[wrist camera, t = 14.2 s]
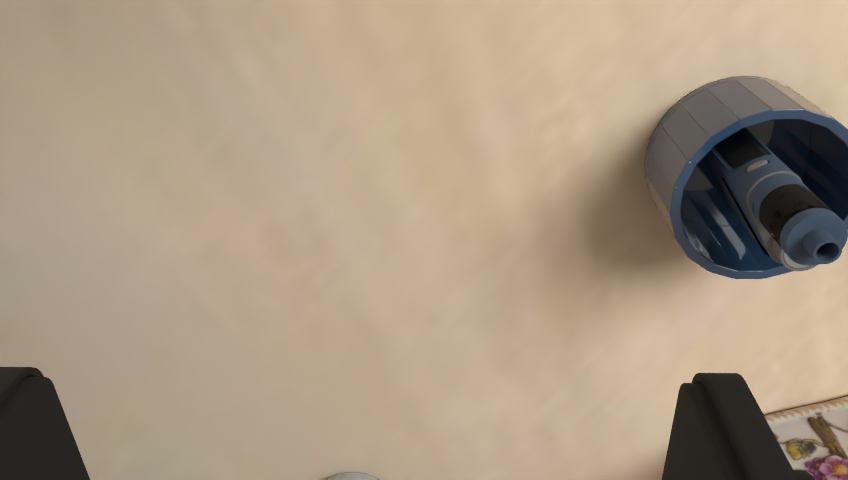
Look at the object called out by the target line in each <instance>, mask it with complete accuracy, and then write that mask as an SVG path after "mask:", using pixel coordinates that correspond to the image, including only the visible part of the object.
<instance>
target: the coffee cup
mask: <svg viewBox="0 0 848 480" xmlns="http://www.w3.org/2000/svg"><path fill="white" fill-rule="evenodd" d="M327 480H378V479H376V478H374V477H372V476H369V475H367V474H362V473H342V474H337V475H335V476H332V477H330V478H329V479H327Z"/></svg>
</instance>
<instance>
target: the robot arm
mask: <svg viewBox="0 0 848 480" xmlns="http://www.w3.org/2000/svg"><path fill="white" fill-rule="evenodd" d="M0 480H90V478H89V476H88V473H87V471H86V468H85V465H84V463H83V460H82V458H81V455H80V452H79V450H78V447H77V445H76V442H75V439H74V437H73V434H72V432H71V429H70V426H69V424H68V421H67V419H66V416H65V413H64V411H63V408H62V406H61V403H60V400H59V398H58V395H57V393H56V390H55V387H54V385H53V383H52V381H51V380H50V379H49V378H47V377H44V376H43V374H42V373H41V371H40V370H38V369H37V368H32V367H0ZM662 480H815V478H814V477H813V476H812V475H811V474H809V473H808V472H807V471H804V470H793V468H792V466H791V465H790V463H789V461H788V459H787V457H786V455H785V454H784V452H783V450H782V448H781V446H780V444H779V443H778V441H777V439H776V437H775V435H774V433H773V431H772V430H771V428H770V426H769V424H768V422H767V420H766V419H765V417H764V415H763V413H762V411H761V409H760V408H759V406H758V404H757V402H756V400H755V398H754V396H753V395H752V393H751V391H750V389H749V387H748V385H747V384H746V382H745V380H744V379H743V377H742V376H741V375H739V374H738V373H698V374H696V375H695V376H694V378H693V381H692V383H683V384H682V385H681V386H680V390H679V394H678V399H677V404H676V410H675V415H674V420H673V425H672V430H671V435H670V440H669V445H668V451H667V456H666V461H665V466H664V471H663V476H662Z"/></svg>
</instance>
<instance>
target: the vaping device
mask: <svg viewBox="0 0 848 480" xmlns="http://www.w3.org/2000/svg"><path fill="white" fill-rule="evenodd" d="M704 157H705V159H706V161H707V163H708V165H709V168H710V170H711V172H712V174H713V177H714V179H715V181H716V183H717V185H718V188H719V190H720V192H721V193H722V195H723V196H724V200H725V203H726V204H727V205H728V207H729V208H730V209H731V210H732V212H733V213H734V214H735V216H736V217H737V218H738V220H739V221H740V222H741V223H742V225H743V226H744V227H745V229H746V230H747V231H748V233H749V234H750V235H751V236H752V238H753V239H754V240H755V242H756V243H757V244H758V246H759V247H760V248H761V249H762V251H763V252H764V253H765V255H767V256H769V257H771V259H773V260H774V261H775V262H777V263H780V264H783V265H784V266H785V267H786V268H788V269H790V270H793V271H804V270H808V269H811V268H813V267H815V266H816V265H818V264H828V263H831V262H833V261H835V260H836V259H838V257H839V256H840V255H841V253H842V249H843V247H844V246H845V244H846V241H847V237H848V230H847V226H846V224H845V223H844V222H843V220H842V219H841V218H840V217H838V216H837V215H836V214H835V213H834V212H833V211H832V210H831V209H830V208H829V207H828V206H827V205H826V204H825V203H824V202H823V201H822V200H820V199H819V198H818V197H817V196H816V195H815V194H814V193H813V192H812V191H811V190H810V189H809V188H808V187H807V186H806V185H804V184H803V182H802V180H801V178H800V177H799V176H798V175H797V174H795V173H794V172H793V171H792V170H791V169H789V168H788V167H787V166H786V165H785V164H784V163H783V162H782V161H781V160H780V159H779V158H778V157H777V156H776V155H775V154H774V153H773V151H770V150H769V149H768V148H767V147H766V146H765V145H764V144H763V143H762V142H761V141H760V140H759V139H757V138H756V137H755V136H754V135H753V134H752V133H751V132H750V131H749V130H748V129H747V128H746V127H745V128H742V129H740V130H739V131H737V132H735V133H734V134H732V135H731V136H729V137H727V138H726V139H724V140H722V141H721V142H719V143H717V144H716V145H715V146H714V147H713V148H712V149H711V150H710V151H709V152H708V153H707V154H706V155H705V156H704ZM815 200H816V201H815ZM817 200H818V201H819V202H818V201H817ZM820 201H822V202H820ZM820 204H821V205H820ZM823 204H824V205H823ZM823 206H824V207H823Z"/></svg>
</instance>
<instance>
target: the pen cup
mask: <svg viewBox="0 0 848 480" xmlns="http://www.w3.org/2000/svg"><path fill="white" fill-rule="evenodd" d="M745 127H746V128H747V129H748V130H749V131H750V132H751V133H752V134H753V135H754V136H755V137H756V138H757V139H759V140H760V141H761V142H762V143H763V144H764V145H765V146H766V147H767V148H768V149H769V150H770V151H773V153H774V154H775V155H776V156H777V157H778V158H779V159H780V160H781V161H782V162H783V163H784V164H785V165H786V166H787V167H788V168H789V169H791V170H792V171H793V172H794V173H795V174H797V175H798V176H799V177H800V178H801V180H802V182H803V184H804V185H806V186H807V187H808V188H809V189H810V190H811V191H812V192H813V193H814V194H815V195H816V196H817V197H818V198H819V199H820V200H822V201H823V202H824V203H825V204H826V205H827V206H828V207H829V208H830V209H831V210H832V211H833V212H834V213H835V214H836V215H837V216H838V217H840V218H841V219H842V220H843V222H844V223H845V224H846V226H847V230H848V129H847V128H846V127H844V126H843V125H842V124H841V123H839V122H838V121H837V120H836V119H834V118H833V117H832V116H830V115H829V114H827V113H826V112H824V111H823V110H821V109H820V108H818V107H817V106H816V105H814V104H813V103H811V102H810V101H808V100H807V99H805V98H804V97H802V96H801V95H800V94H798V93H797V92H795V91H794V90H792V89H791V88H789V87H787V86H784V85H783V84H781V83H779V82H776V81H773V80H770V79H767V78H761V77H754V76H740V77H731V78H726V79H721V80H718V81H715V82H712V83H709V84H707V85H705V86H702V87H700V88H698V89H696V90H695V91H693V92H691V93H690V94H688V95H687V96H685V97H684V98H683V99H681V100H680V101H679V102H678V103H677V104H675V105H674V106H673V107H672V108H671V109H670V110H669V111H668V113H667V114H666V115H665V116H664V117H663V119H662V120H661V121H660V123H659V124H658V126H657V128H656V129H655V131H654V133H653V135H652V137H651V140H650V143H649V145H648V148H647V153H646V158H645V175H646V181H647V185H648V188H649V190H650V193H651V196H652V198H653V200H654V202H655V204H656V205H657V207H658V209H659V211H660V212H661V214H662V216H663V218H664V220H665V221H666V223H667V225H668V227H669V228H670V230H671V232H672V234H673V236H674V237H675V239H676V240H677V242H678V243H679V245H680V246H681V248H682V249H683V251H684V252H685V254H686V255H687V256H688V257H689V258H690V259H691V260H693V261H694V262H696V263H697V264H698V265H700V266H701V267H703V268H704V269H706V270H707V271H709V272H712V273H716V274H719V275H723V276H726V277H730V278H735V279H762V278H768V277H772V276H776V275H780V274H784V273H788V272H791V271H793V270H790V269H788V268H786V267H785V266H784V265H783V264H780V263H777V262H775V261H774V260H773V259H771V257H769V256H767V255H765V253H764V252H763V251H762V249H761V248H760V247H759V246H758V244H757V243H756V242H755V240H754V239H753V238H752V236H751V235H750V234H749V233H748V231H747V230H746V229H745V227H744V226H743V225H742V223H741V222H740V221H739V220H738V218H737V217H736V216H735V214H734V213H733V212H732V210H731V209H730V208H729V207H728V205H727V204H726V203H725V200H724V196H723V195H722V193H721V192H720V190H719V188H718V185H717V183H716V181H715V179H714V177H713V174H712V172H711V170H710V168H709V165H708V163H707V161H706V159H705V157H704V156H705V155H706V154H707V153H708V152H709V151H710V150H711V149H712V148H713V147H714V146H715V145H716V144H717V143H719V142H721V141H722V140H724V139H726V138H727V137H729V136H731V135H732V134H734V133H735V132H737V131H739V130H740V129H742V128H745ZM815 201H816V200H815ZM817 201H818V200H817ZM822 201H820V202H822ZM818 202H819V201H818ZM820 205H821V204H820ZM823 205H824V204H823ZM823 207H824V206H823Z"/></svg>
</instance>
